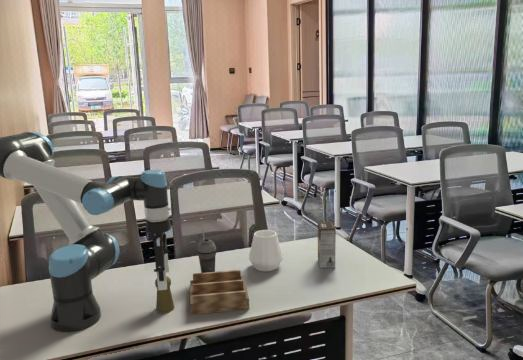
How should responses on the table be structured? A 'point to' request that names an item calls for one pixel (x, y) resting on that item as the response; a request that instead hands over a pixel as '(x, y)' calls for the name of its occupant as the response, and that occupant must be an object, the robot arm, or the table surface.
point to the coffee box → (326, 244)
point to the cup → (265, 251)
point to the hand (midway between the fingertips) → (164, 280)
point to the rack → (218, 292)
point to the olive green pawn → (164, 298)
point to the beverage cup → (206, 255)
